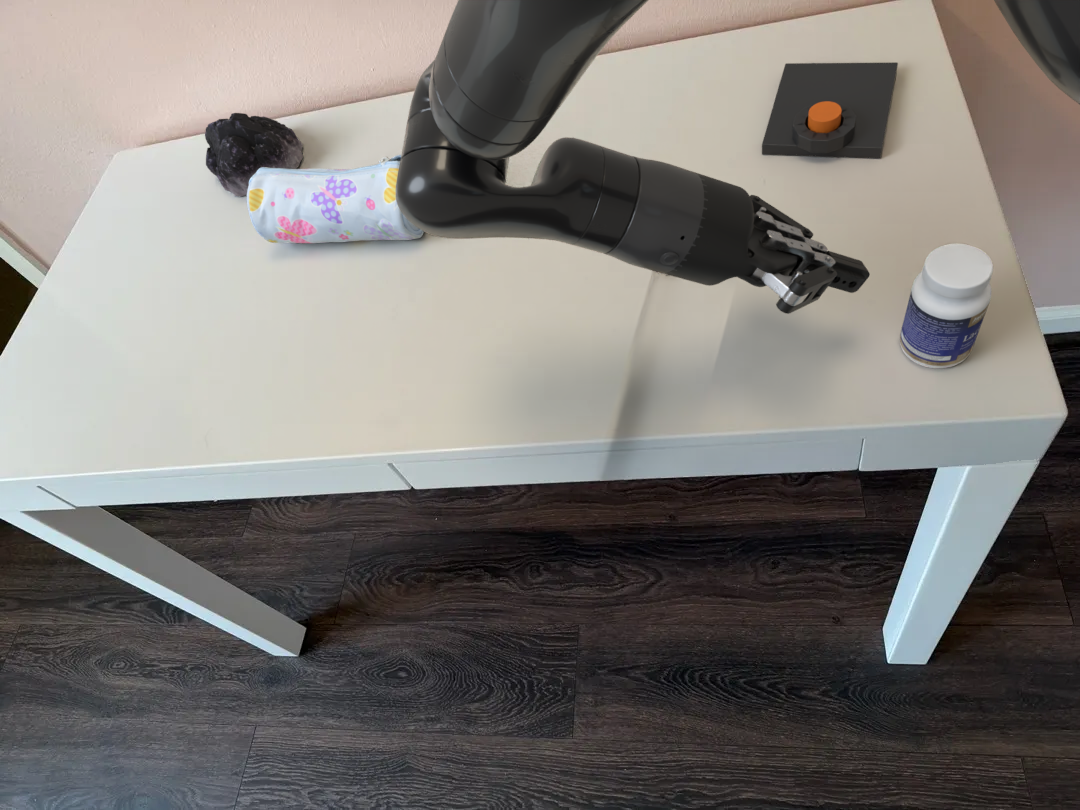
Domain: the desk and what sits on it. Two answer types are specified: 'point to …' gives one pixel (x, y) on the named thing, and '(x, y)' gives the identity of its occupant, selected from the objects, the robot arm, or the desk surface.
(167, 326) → the desk surface
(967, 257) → the pill bottle
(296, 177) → the pencil case
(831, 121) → the button
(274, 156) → the crystal cluster
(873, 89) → the scale
